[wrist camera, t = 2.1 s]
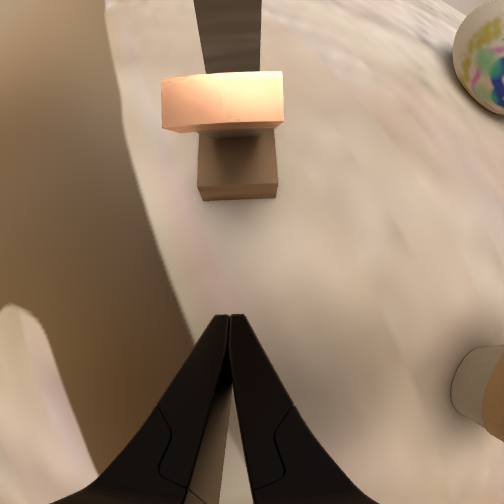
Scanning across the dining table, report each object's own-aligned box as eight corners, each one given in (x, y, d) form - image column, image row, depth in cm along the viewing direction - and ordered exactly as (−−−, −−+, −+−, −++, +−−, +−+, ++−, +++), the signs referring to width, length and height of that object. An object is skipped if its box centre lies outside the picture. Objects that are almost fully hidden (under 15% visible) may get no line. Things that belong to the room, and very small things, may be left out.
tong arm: (261, 140, 19) (283, 121, 7) (211, 142, 19) (162, 128, 7) (260, 119, 18) (281, 71, 7) (210, 121, 18) (161, 79, 7)
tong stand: (275, 198, 21) (309, 14, 6) (203, 200, 21) (134, 26, 6) (269, 117, 22) (282, -55, 8) (205, 119, 22) (170, -48, 8)
